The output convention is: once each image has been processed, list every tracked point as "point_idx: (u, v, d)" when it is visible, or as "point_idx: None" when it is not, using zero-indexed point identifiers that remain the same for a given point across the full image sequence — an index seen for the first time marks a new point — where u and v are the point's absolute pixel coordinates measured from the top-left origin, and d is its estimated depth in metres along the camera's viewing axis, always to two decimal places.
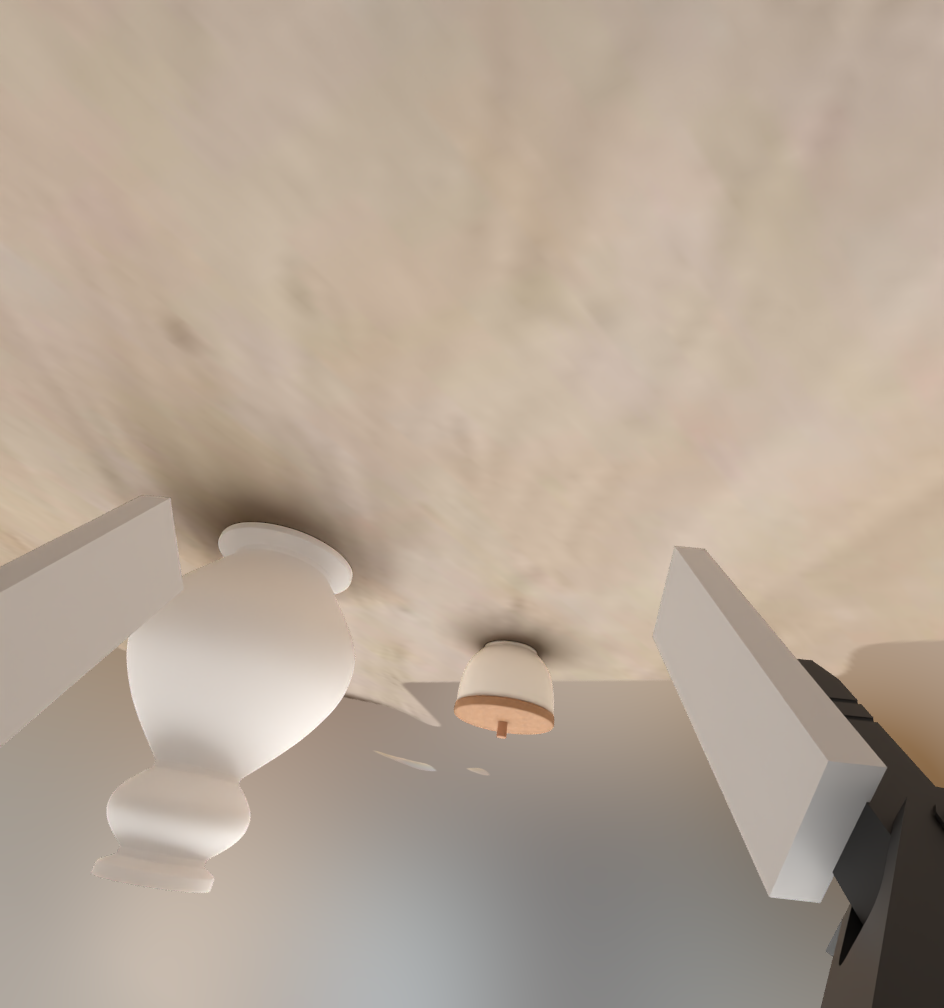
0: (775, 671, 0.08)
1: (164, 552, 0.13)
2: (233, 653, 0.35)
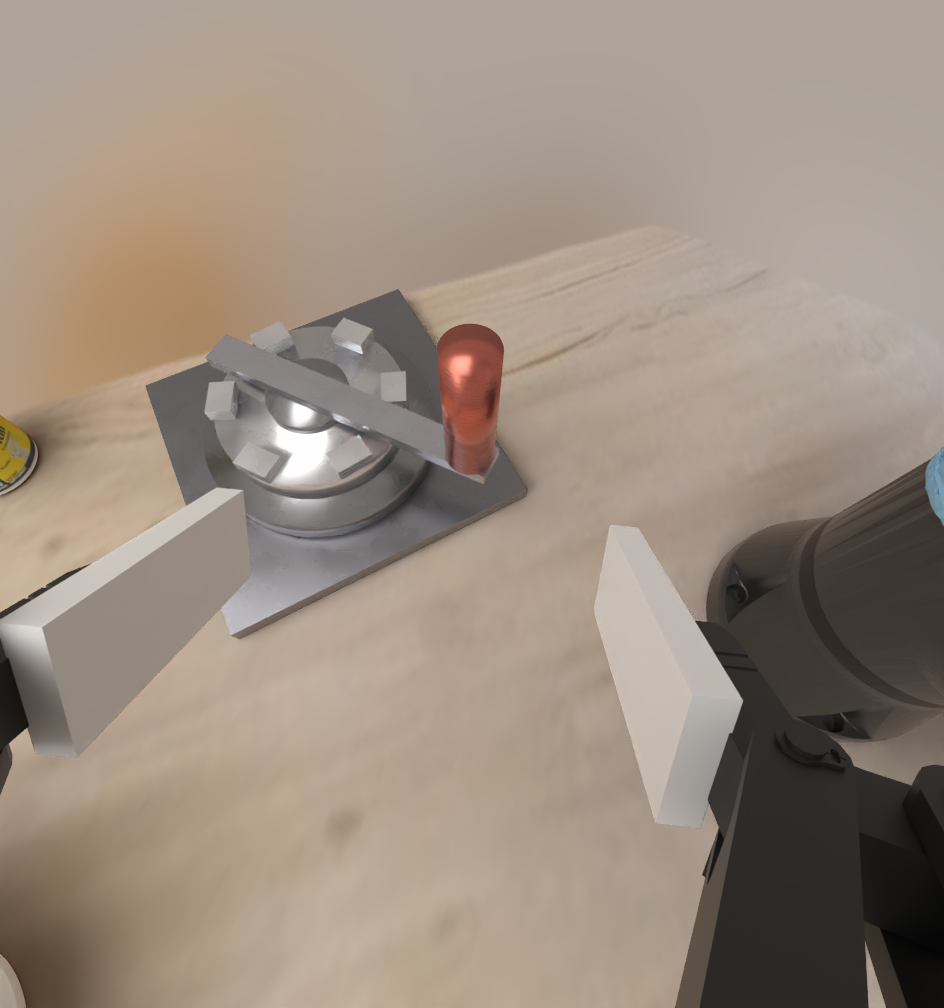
0: (669, 627, 0.09)
1: (237, 541, 0.14)
2: None
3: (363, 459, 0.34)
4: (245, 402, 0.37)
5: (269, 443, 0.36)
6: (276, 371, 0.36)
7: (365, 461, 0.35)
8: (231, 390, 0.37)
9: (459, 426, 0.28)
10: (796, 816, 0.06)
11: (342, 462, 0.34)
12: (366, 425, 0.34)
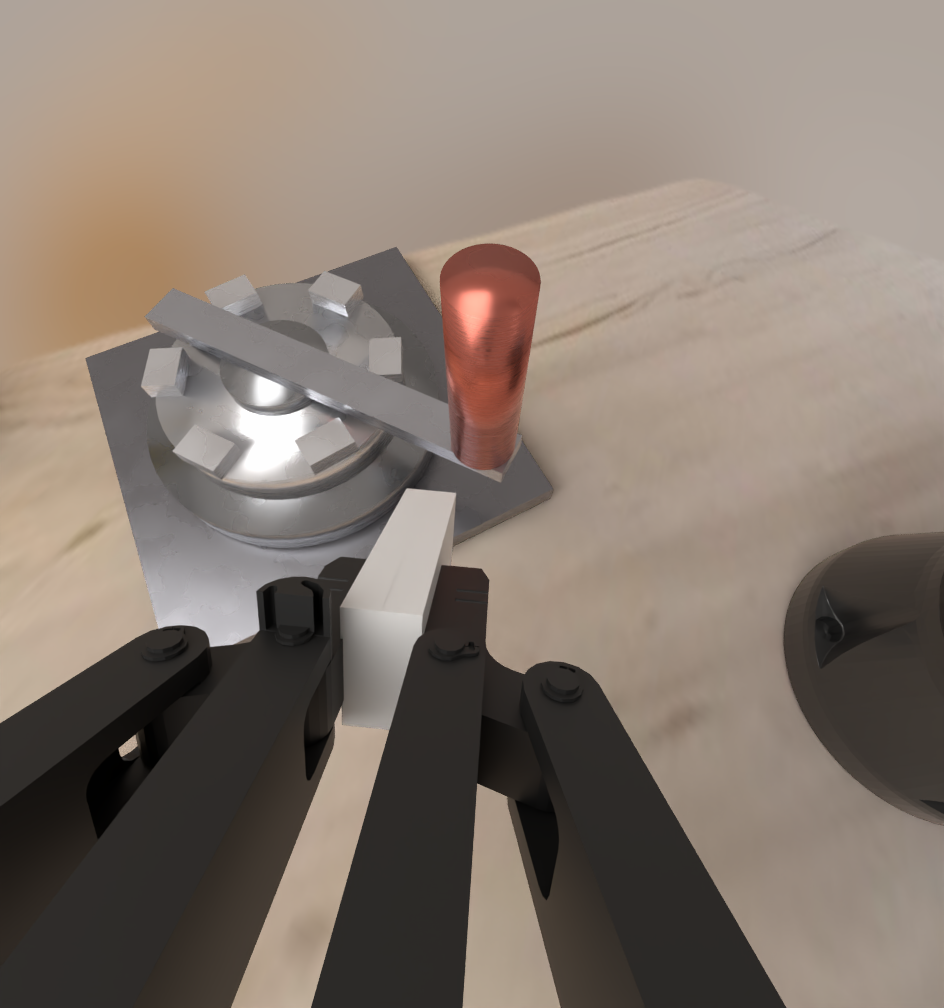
0: (409, 565, 0.11)
1: None
2: None
3: (343, 448, 0.26)
4: (197, 375, 0.29)
5: (224, 427, 0.28)
6: (234, 335, 0.28)
7: (346, 450, 0.27)
8: (177, 359, 0.29)
9: (471, 400, 0.20)
10: (438, 704, 0.07)
11: (316, 452, 0.26)
12: (347, 404, 0.26)
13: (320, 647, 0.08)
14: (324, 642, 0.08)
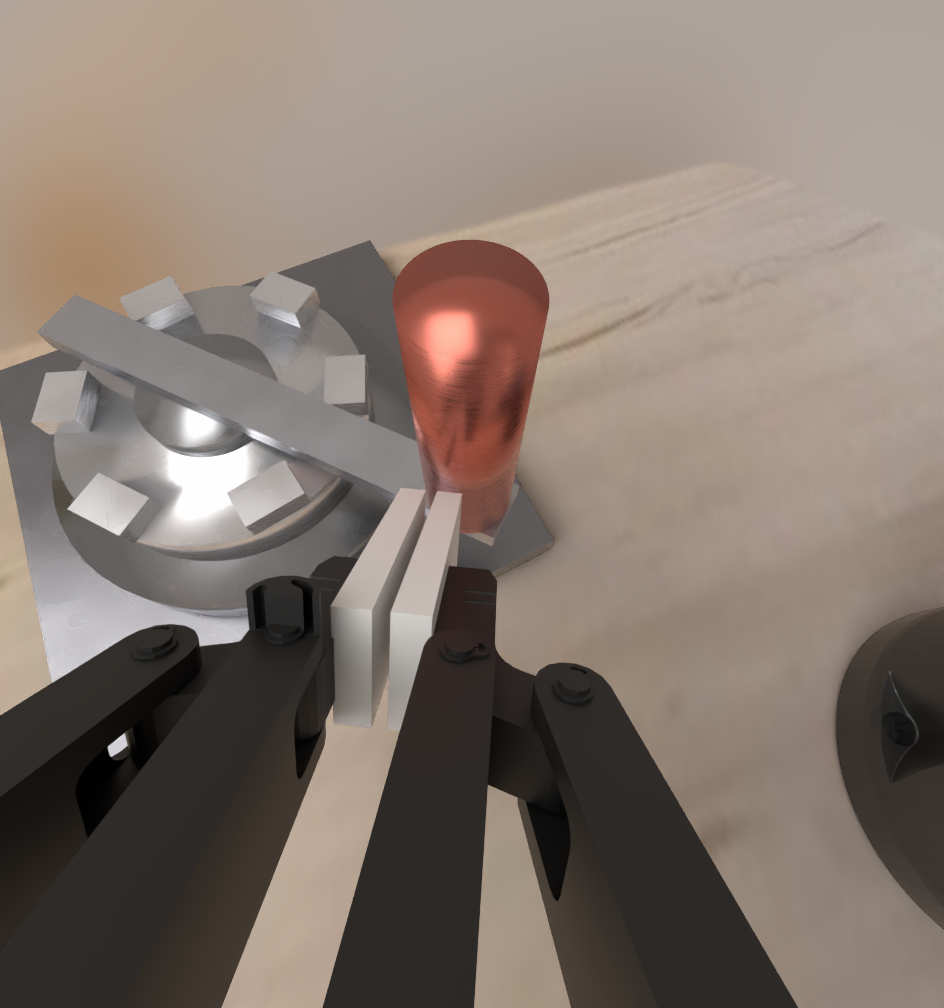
0: (418, 566, 0.11)
1: None
2: None
3: (289, 502, 0.21)
4: (109, 405, 0.23)
5: (140, 473, 0.22)
6: (151, 355, 0.22)
7: (294, 504, 0.21)
8: (81, 385, 0.23)
9: (448, 462, 0.14)
10: (449, 705, 0.07)
11: (254, 508, 0.20)
12: (294, 445, 0.20)
13: (310, 646, 0.08)
14: (314, 641, 0.08)
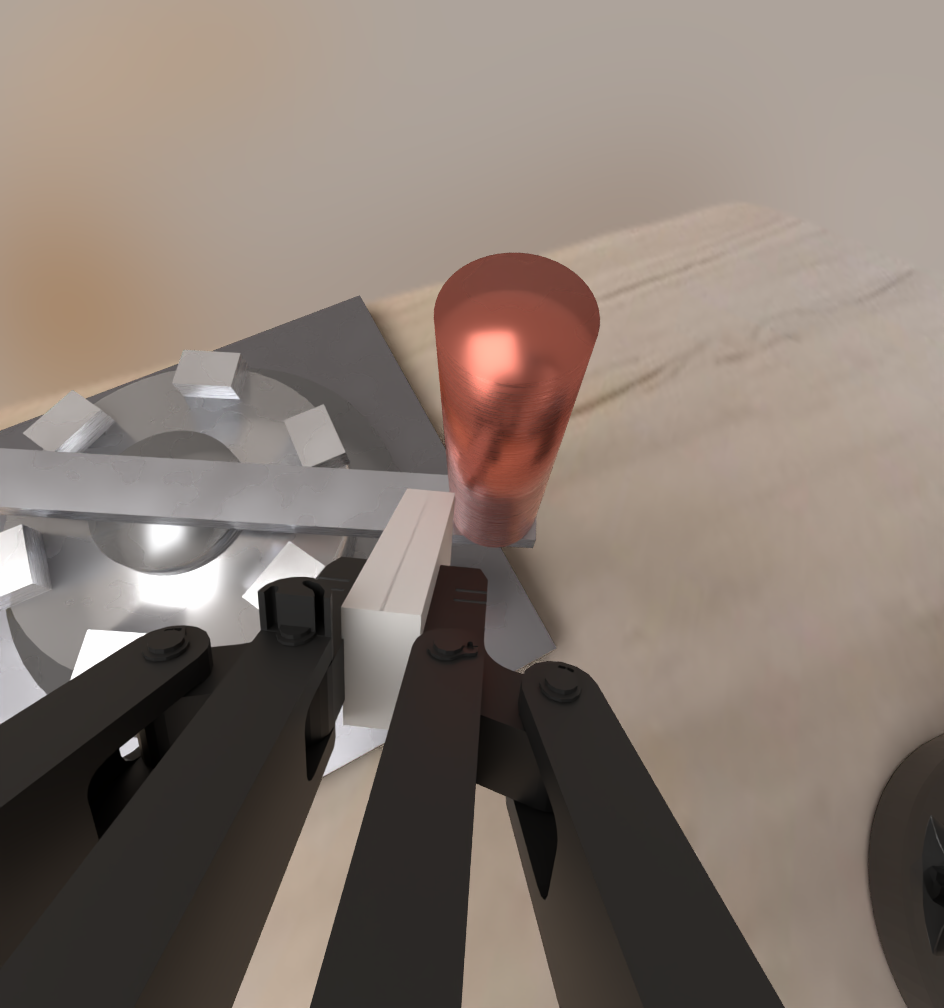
0: (408, 565, 0.11)
1: None
2: None
3: None
4: (61, 552, 0.20)
5: (131, 612, 0.20)
6: (94, 482, 0.19)
7: None
8: (22, 543, 0.20)
9: (505, 484, 0.13)
10: (437, 703, 0.07)
11: None
12: (297, 522, 0.19)
13: (321, 647, 0.08)
14: (325, 642, 0.08)
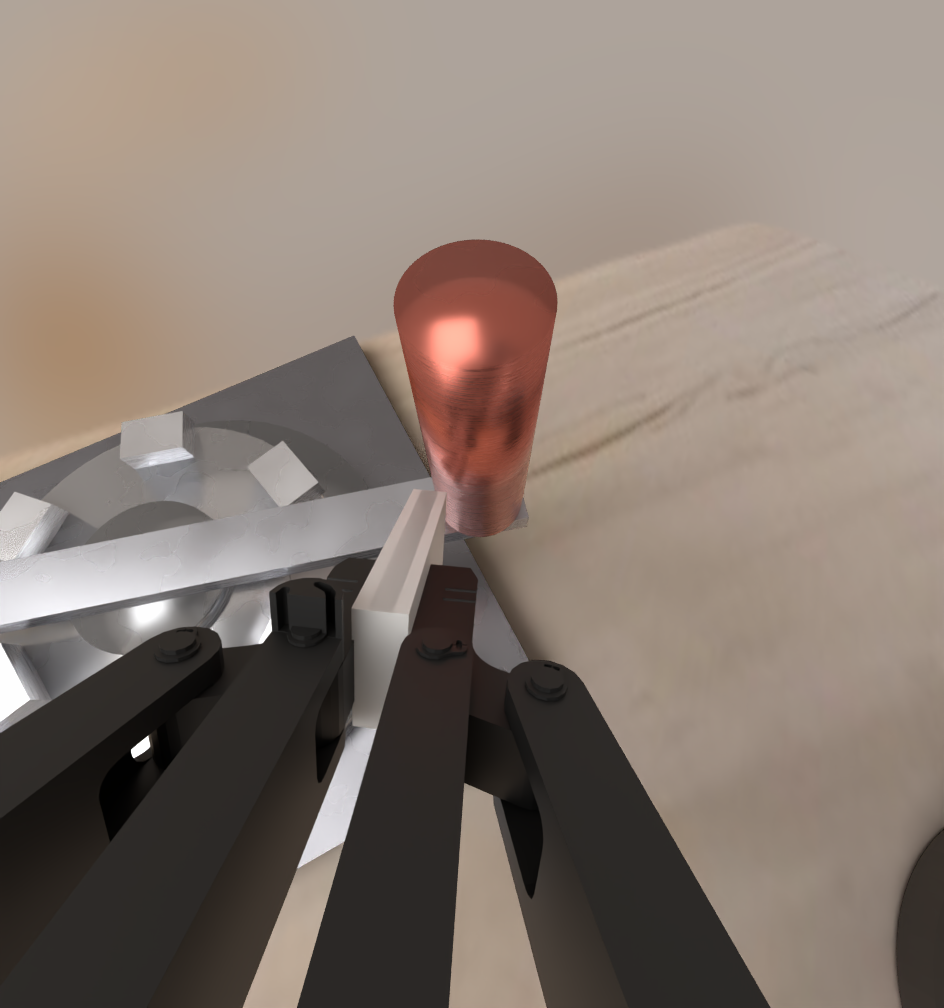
0: (397, 564, 0.11)
1: None
2: None
3: None
4: (50, 660, 0.19)
5: None
6: (68, 579, 0.18)
7: None
8: (6, 662, 0.18)
9: (495, 468, 0.14)
10: (426, 702, 0.07)
11: None
12: (291, 563, 0.18)
13: (332, 649, 0.08)
14: (336, 644, 0.08)
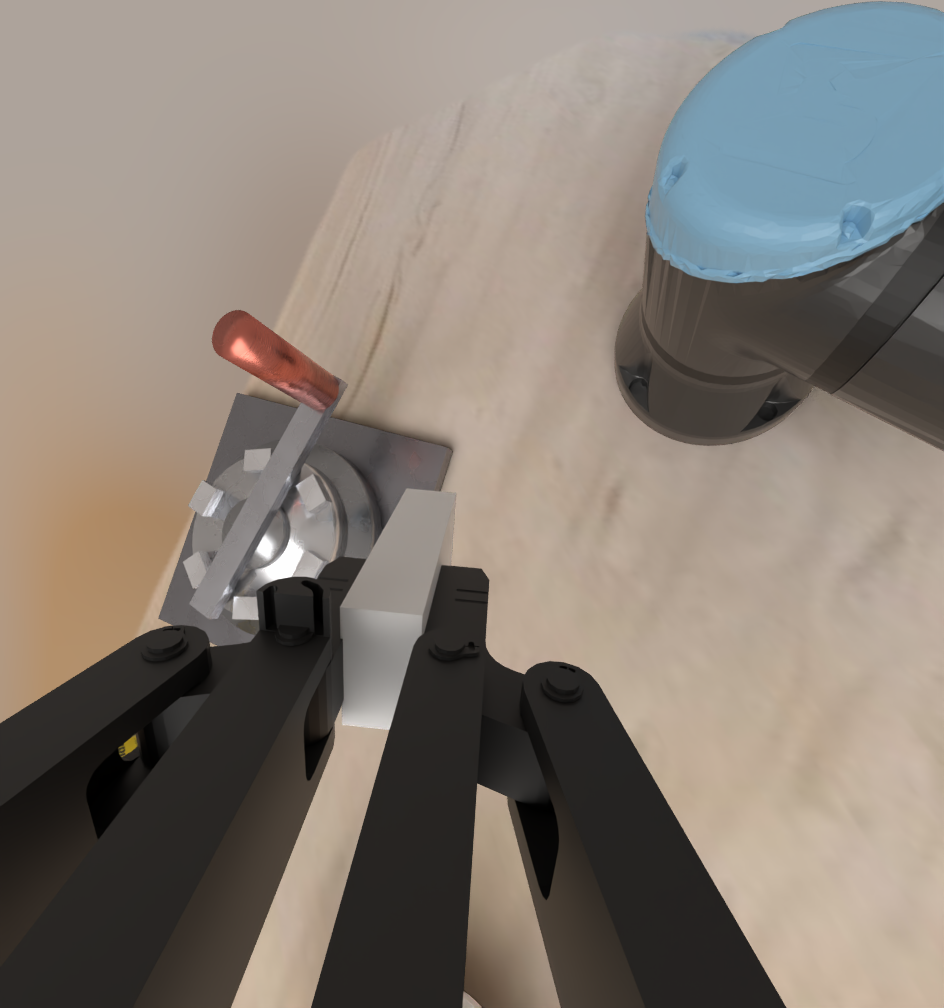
0: (409, 565, 0.11)
1: None
2: None
3: (316, 480, 0.41)
4: (255, 589, 0.43)
5: (294, 565, 0.42)
6: (230, 554, 0.41)
7: (318, 480, 0.42)
8: (242, 598, 0.42)
9: (295, 370, 0.36)
10: (438, 704, 0.07)
11: (317, 497, 0.41)
12: (287, 474, 0.41)
13: (320, 647, 0.08)
14: (324, 642, 0.08)
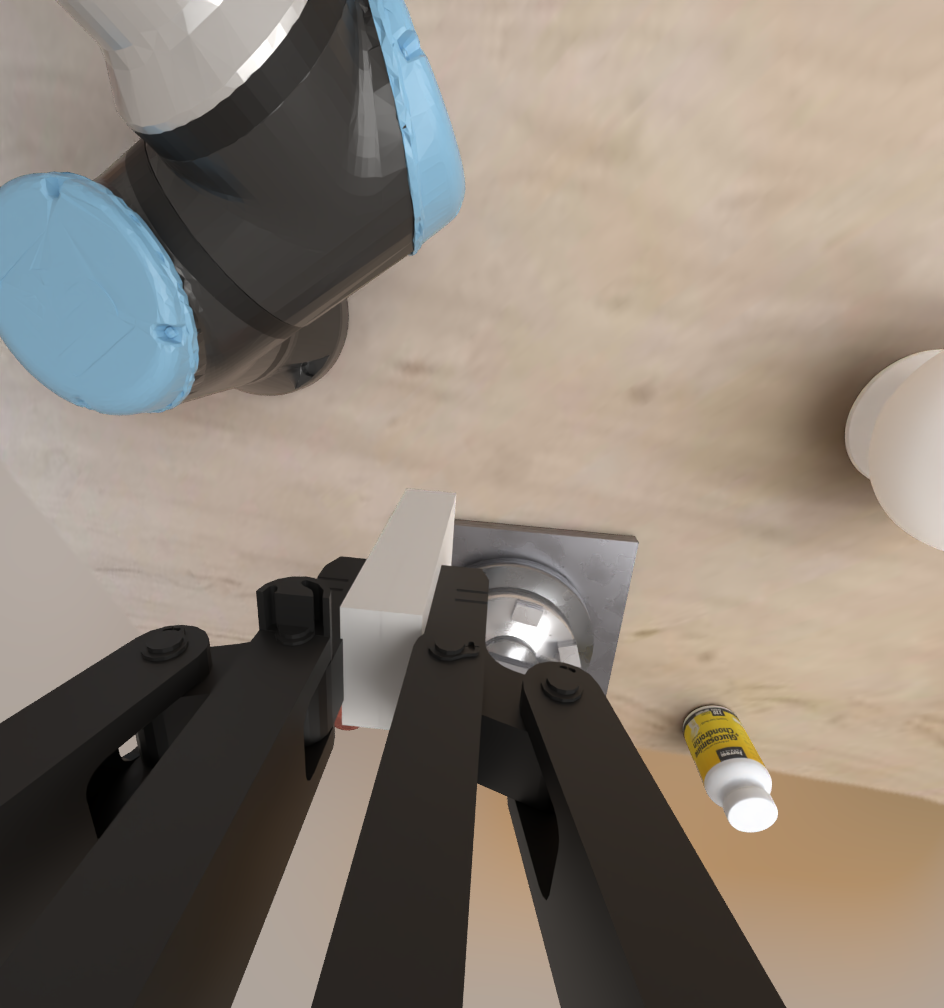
0: (409, 565, 0.11)
1: None
2: (941, 409, 0.35)
3: None
4: (554, 654, 0.50)
5: (526, 626, 0.49)
6: None
7: None
8: None
9: None
10: (438, 704, 0.07)
11: None
12: None
13: (320, 647, 0.08)
14: (324, 642, 0.08)
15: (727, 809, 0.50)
